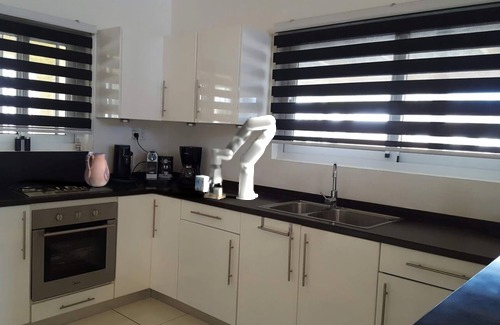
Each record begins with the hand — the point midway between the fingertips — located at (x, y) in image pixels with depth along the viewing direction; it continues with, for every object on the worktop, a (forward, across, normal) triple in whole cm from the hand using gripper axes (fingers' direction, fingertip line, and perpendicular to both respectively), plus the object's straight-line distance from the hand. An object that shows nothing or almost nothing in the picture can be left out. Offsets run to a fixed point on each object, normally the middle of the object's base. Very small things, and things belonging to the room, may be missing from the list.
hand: (215, 191), depth 281 cm
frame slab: (+3, 0, 0) cm, 3 cm away
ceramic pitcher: (+4, +17, -94) cm, 95 cm away
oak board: (+4, 0, 0) cm, 4 cm away
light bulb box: (+4, -18, -22) cm, 28 cm away
